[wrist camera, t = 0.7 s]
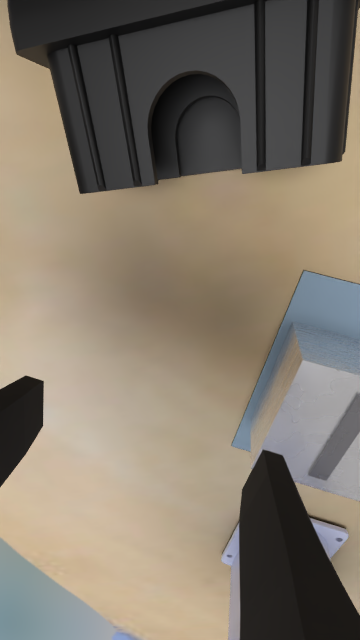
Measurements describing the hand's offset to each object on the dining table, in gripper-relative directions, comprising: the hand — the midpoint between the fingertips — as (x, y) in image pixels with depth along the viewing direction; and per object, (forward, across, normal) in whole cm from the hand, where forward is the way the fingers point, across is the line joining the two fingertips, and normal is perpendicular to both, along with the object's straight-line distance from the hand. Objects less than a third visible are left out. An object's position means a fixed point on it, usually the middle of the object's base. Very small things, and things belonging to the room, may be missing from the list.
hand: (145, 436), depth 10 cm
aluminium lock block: (+10, -9, +3) cm, 14 cm away
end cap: (+11, +2, -11) cm, 15 cm away
